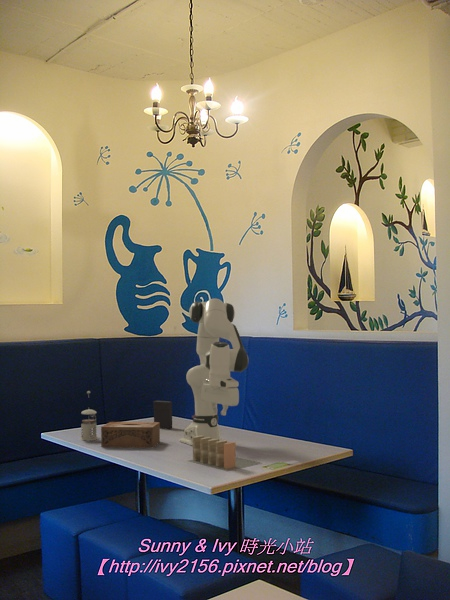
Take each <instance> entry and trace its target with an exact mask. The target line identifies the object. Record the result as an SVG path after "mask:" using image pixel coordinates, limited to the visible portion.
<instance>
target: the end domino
mask: <svg viewBox="0 0 450 600" xmlns="http://www.w3.org/2000/svg"><path fill="white" fill-rule="evenodd" d="M236 457H237V456H236V442H235V441H230V442H227V443H224V468H225V469H228V468H232V467H236Z"/></svg>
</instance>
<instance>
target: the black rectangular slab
mask: <svg viewBox="0 0 450 600" xmlns="http://www.w3.org/2000/svg"><path fill="white" fill-rule="evenodd" d="M152 408H153V422H160V429H165V428H167V429H166V430H168V429H170V430H171V429H173V401H166V400H153V402H152Z"/></svg>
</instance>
